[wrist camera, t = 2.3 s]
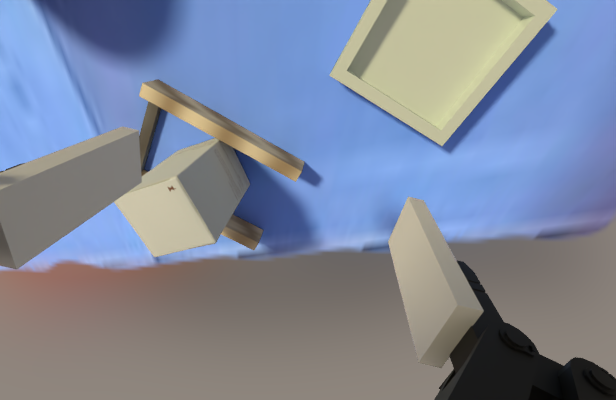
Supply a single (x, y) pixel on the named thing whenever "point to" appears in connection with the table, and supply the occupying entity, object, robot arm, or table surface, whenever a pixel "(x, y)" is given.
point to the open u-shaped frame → (222, 130)
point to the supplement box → (186, 198)
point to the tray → (436, 56)
